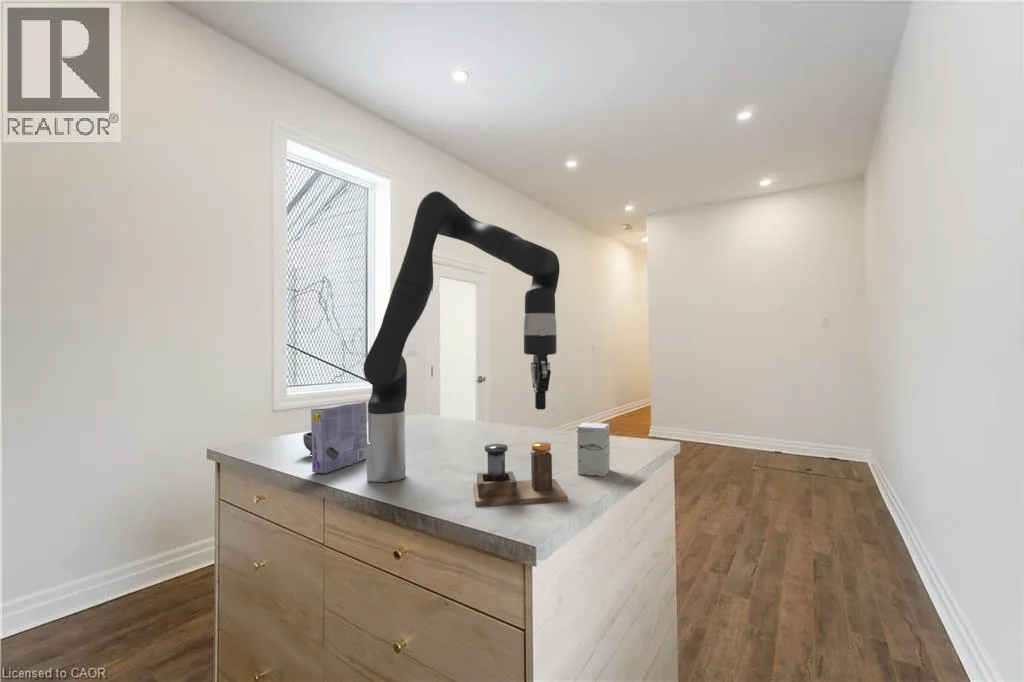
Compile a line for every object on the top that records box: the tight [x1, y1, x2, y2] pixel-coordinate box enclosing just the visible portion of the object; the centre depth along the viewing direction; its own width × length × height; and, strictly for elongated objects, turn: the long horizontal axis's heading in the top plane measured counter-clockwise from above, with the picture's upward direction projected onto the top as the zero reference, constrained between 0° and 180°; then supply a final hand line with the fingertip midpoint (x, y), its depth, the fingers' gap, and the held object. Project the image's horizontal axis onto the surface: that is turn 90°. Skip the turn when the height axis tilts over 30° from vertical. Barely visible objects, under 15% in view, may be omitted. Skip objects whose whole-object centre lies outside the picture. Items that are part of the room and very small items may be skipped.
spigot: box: [484, 443, 509, 482], centre depth 105 cm, size 5×5×10 cm
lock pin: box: [531, 441, 552, 455], centre depth 106 cm, size 4×4×10 cm
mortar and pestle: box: [303, 431, 312, 456], centre depth 147 cm, size 11×9×12 cm
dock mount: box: [473, 451, 569, 507], centre depth 106 cm, size 20×13×9 cm, turn 96°
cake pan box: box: [310, 401, 368, 475], centre depth 133 cm, size 19×5×18 cm, turn 159°
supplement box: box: [577, 422, 611, 477], centre depth 122 cm, size 7×7×13 cm
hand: (540, 409), depth 106 cm, fingers closed
